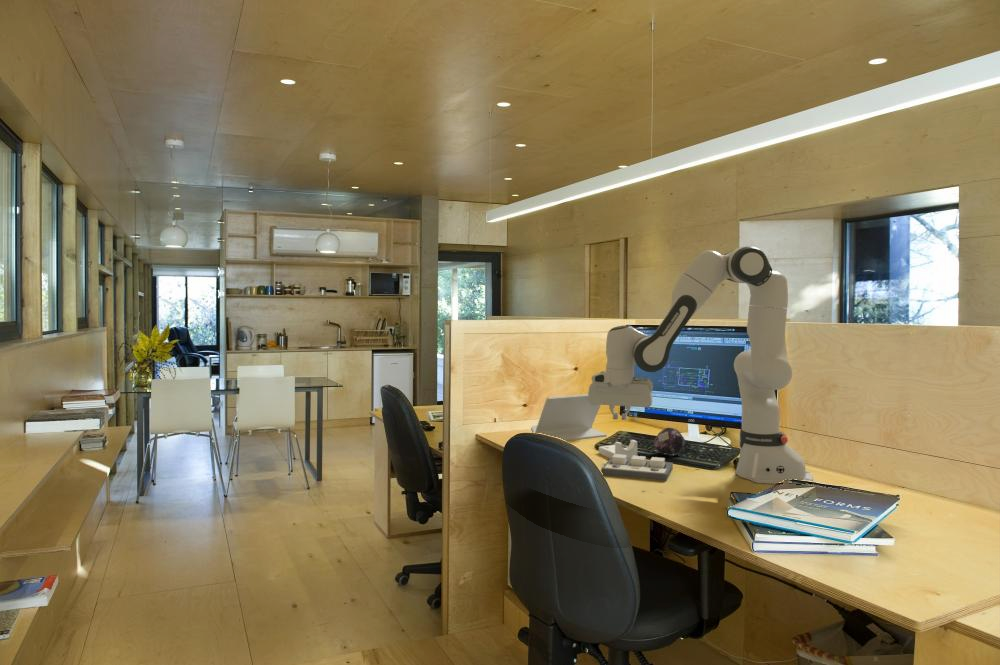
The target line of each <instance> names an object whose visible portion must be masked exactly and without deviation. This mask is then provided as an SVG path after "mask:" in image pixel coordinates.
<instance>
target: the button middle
mask: <svg viewBox="0 0 1000 665" xmlns="http://www.w3.org/2000/svg"><path fill="white" fill-rule="evenodd" d="M646 460H647V457H646V456H643V455H640V456H639V455H637V456H634V455H633V457H632V458H631V466H640V467H644V466H645V465H646Z"/></svg>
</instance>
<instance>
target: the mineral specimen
mask: <svg viewBox="0 0 1000 665" xmlns="http://www.w3.org/2000/svg"><path fill="white" fill-rule="evenodd" d="M685 443H686V439H685V438H684V436H683V435H682V434H681V432H680V431H679V430H678V429H676V428H673V427H665V428H664V429H662V430H661V431H660V432H659V433H658V434H657V435H656V436H655V438H654V440H653V446H654V448H655V449H656V450H658V451H659V452H661V453H667V454H676V453H678V454H679V453H680V452H681V451H682V449H683V448H684V447H685ZM658 451H657V452H658ZM659 452H658V453H659Z"/></svg>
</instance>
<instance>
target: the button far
mask: <svg viewBox="0 0 1000 665" xmlns="http://www.w3.org/2000/svg"><path fill="white" fill-rule="evenodd" d="M626 463H627V455H622V454H614V455H613V457H612V464H617V465H626Z"/></svg>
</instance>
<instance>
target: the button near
mask: <svg viewBox="0 0 1000 665" xmlns="http://www.w3.org/2000/svg"><path fill="white" fill-rule="evenodd" d="M649 461H650V467H651V468H662V469H663V468H664V466H665V462H666V458H665V457H657V456H655V457H654V456H652V457H651V458H650V460H649Z"/></svg>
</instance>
